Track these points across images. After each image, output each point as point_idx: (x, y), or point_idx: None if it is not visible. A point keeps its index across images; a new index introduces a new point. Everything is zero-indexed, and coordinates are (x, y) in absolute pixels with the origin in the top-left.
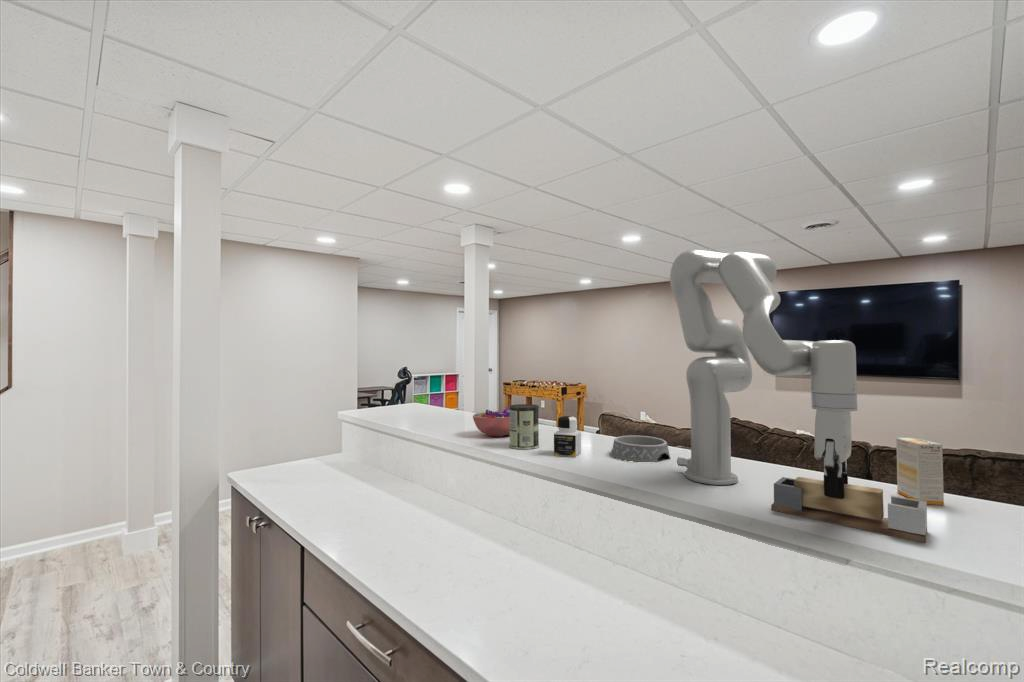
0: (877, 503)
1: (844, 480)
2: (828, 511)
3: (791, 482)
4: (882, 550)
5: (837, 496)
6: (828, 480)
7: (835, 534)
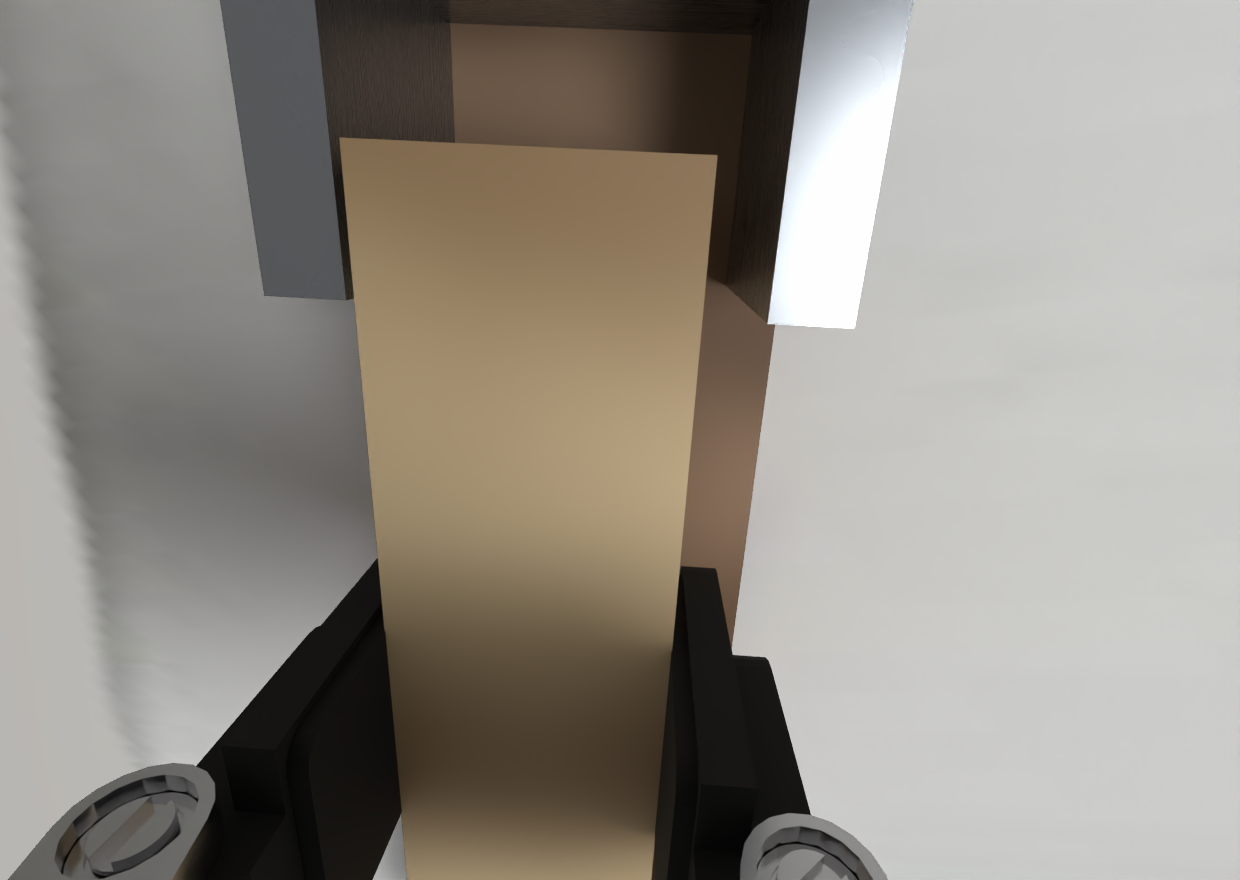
0: None
1: (657, 859)
2: None
3: (792, 28)
4: (152, 734)
5: None
6: (216, 754)
7: (195, 527)
